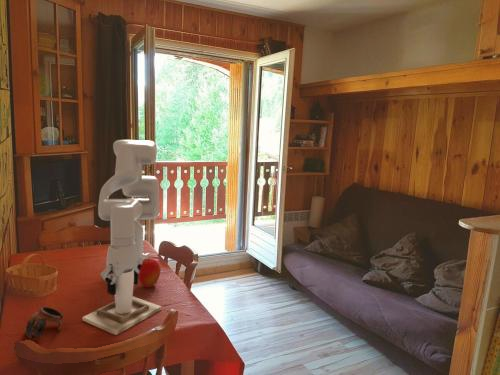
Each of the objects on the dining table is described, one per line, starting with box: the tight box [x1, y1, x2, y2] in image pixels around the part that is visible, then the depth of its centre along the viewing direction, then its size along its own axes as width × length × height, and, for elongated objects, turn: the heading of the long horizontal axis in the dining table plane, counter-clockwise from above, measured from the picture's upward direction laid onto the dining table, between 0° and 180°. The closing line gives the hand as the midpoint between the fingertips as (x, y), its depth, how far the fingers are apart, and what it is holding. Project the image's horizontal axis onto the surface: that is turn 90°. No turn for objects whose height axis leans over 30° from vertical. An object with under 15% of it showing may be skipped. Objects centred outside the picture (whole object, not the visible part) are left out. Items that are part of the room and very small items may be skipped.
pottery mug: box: [24, 306, 64, 339], centre depth 113 cm, size 12×10×8 cm
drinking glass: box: [113, 269, 135, 314], centre depth 126 cm, size 7×7×15 cm
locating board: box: [82, 296, 162, 336], centre depth 126 cm, size 20×16×3 cm
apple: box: [138, 257, 162, 288], centre depth 149 cm, size 9×9×12 cm
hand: (123, 288), depth 125 cm, fingers open, 9 cm apart
